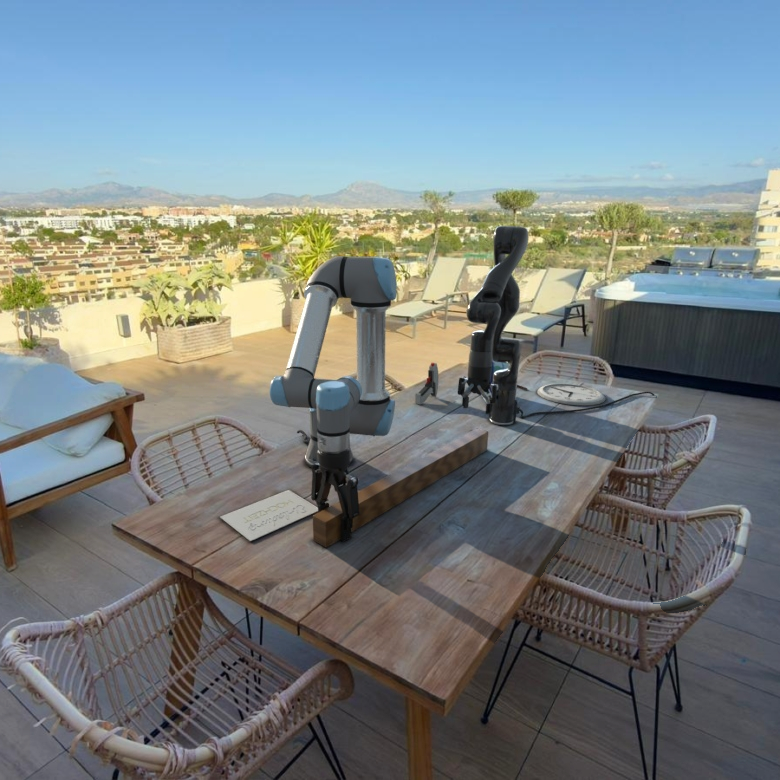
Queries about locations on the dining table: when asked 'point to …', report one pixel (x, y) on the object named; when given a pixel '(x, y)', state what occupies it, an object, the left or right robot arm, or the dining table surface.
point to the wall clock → (571, 394)
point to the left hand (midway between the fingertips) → (335, 533)
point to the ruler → (521, 387)
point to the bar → (400, 485)
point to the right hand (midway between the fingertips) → (476, 410)
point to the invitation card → (269, 514)
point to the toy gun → (429, 385)
